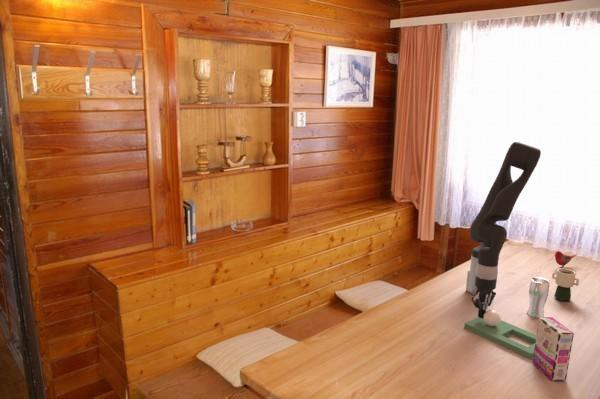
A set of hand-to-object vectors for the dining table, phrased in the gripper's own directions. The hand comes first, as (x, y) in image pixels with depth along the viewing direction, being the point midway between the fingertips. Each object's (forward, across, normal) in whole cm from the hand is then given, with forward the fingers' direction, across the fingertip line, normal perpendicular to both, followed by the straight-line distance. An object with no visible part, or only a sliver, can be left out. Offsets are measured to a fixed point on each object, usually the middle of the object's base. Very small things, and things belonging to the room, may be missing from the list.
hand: (481, 317), depth 179 cm
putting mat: (+4, 0, +10) cm, 11 cm away
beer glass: (+4, -27, +7) cm, 29 cm away
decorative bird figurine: (+4, -93, -12) cm, 94 cm away
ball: (-1, 0, +4) cm, 4 cm away
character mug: (+4, -52, +6) cm, 53 cm away
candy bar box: (+4, +8, +30) cm, 32 cm away
